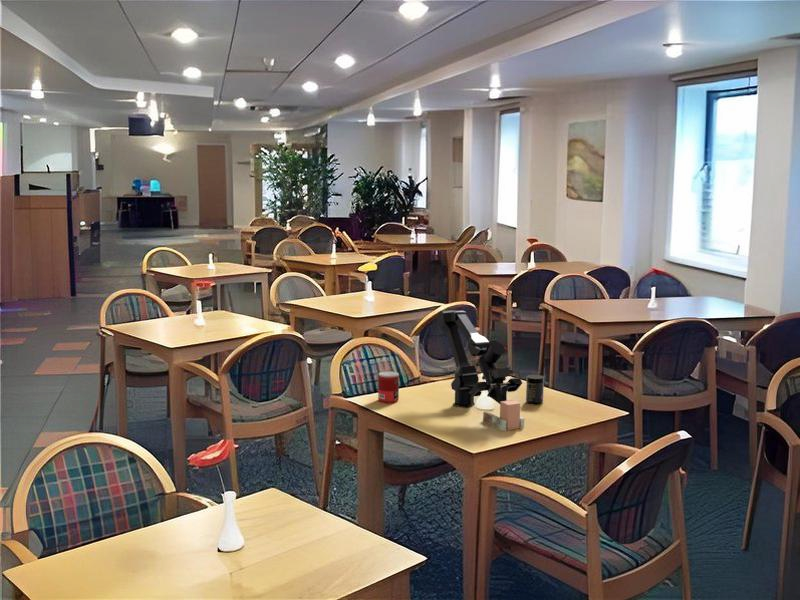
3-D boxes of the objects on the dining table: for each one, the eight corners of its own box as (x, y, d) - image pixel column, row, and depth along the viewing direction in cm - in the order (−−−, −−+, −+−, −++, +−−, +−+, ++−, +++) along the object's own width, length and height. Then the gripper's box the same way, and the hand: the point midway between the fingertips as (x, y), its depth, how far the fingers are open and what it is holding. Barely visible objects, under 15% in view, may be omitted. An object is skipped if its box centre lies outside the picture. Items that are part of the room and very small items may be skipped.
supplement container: (541, 405, 325) (542, 379, 324) (524, 404, 328) (525, 378, 326) (544, 401, 332) (545, 375, 330) (527, 399, 334) (528, 374, 332)
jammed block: (499, 426, 299) (500, 401, 297) (511, 424, 301) (512, 399, 300) (507, 429, 294) (508, 404, 293) (519, 428, 296) (520, 403, 295)
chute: (483, 420, 305) (483, 411, 304) (503, 418, 309) (503, 408, 308) (503, 431, 293) (503, 421, 293) (524, 427, 297) (524, 418, 297)
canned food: (398, 403, 326) (398, 376, 325) (377, 403, 326) (377, 375, 325) (398, 398, 334) (399, 371, 332) (378, 398, 334) (378, 370, 332)
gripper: (476, 360, 297) (492, 398, 289) (520, 355, 305) (537, 392, 297) (464, 377, 305) (479, 414, 297) (507, 372, 313) (523, 408, 305)
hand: (505, 407), depth 299 cm, fingers closed, pressing on jammed block
